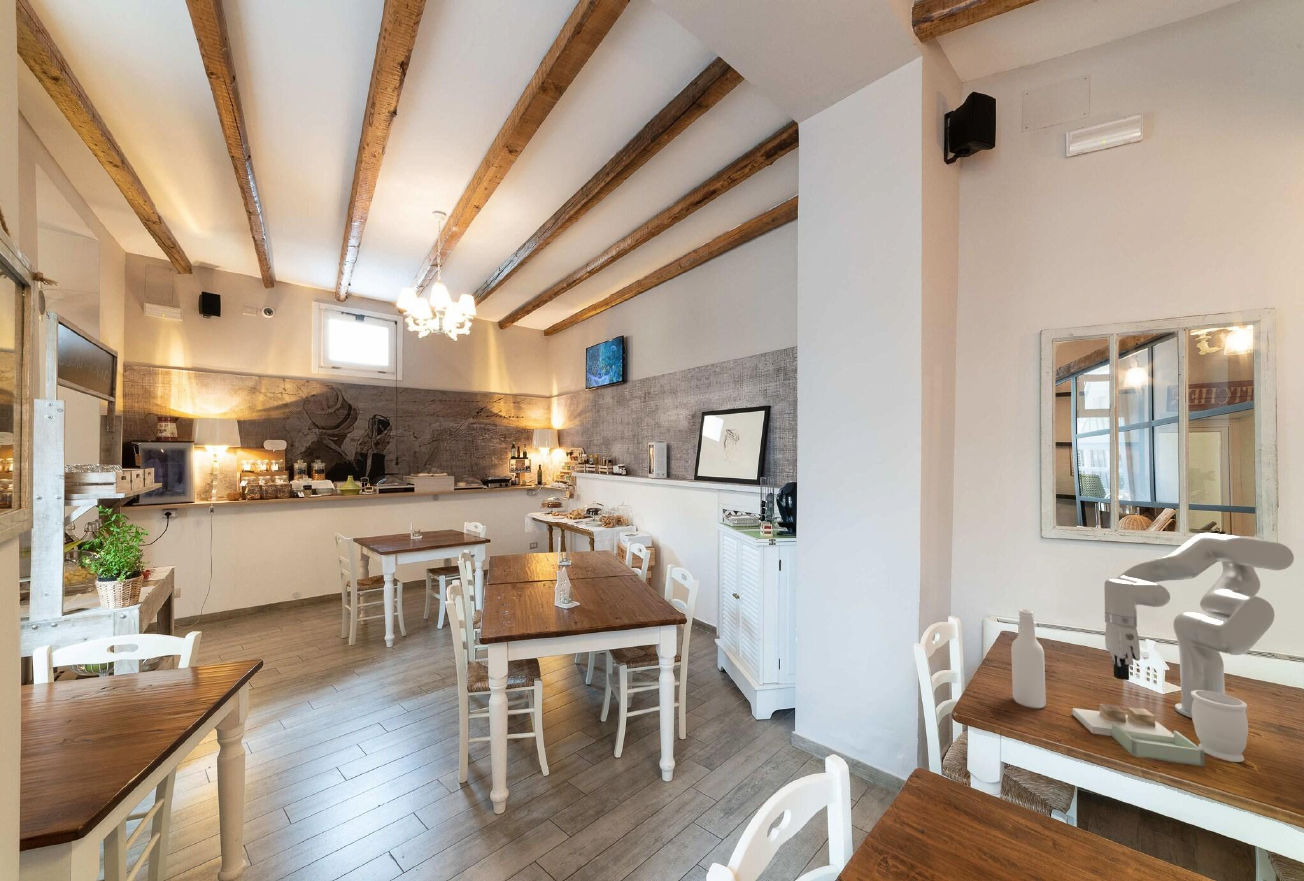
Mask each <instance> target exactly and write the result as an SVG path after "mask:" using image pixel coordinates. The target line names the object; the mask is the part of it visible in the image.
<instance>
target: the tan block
mask: <svg viewBox="0 0 1304 881" xmlns="http://www.w3.org/2000/svg"><path fill="white" fill-rule="evenodd" d="M1098 705H1099V706H1098V707H1099V710H1098V711H1099V712H1100V714H1101V715H1102V716H1103V717H1104V718H1105V719H1106V720H1108V721H1116V722H1123V723H1126V715H1127V714H1126V713H1127V712H1126V711H1124V710H1123V709H1122V708H1121V707H1119V706H1118V705H1114V704H1113V705H1112V704H1105V703H1099V704H1098Z"/></svg>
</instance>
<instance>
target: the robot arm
mask: <svg viewBox="0 0 1304 881" xmlns="http://www.w3.org/2000/svg"><path fill="white" fill-rule="evenodd" d="M1294 560H1295V557H1294V553H1293V551H1292V549H1290V548H1289V547H1288V546H1287V545H1285V544H1284V543H1281V542H1276V541H1268V540H1262V539H1254V538H1249V537H1248V538H1247V537H1244V536H1243V537H1242V536H1238V535H1237V536H1236V535H1231V534H1230V535H1228V534H1222V533H1221V534H1220V533H1215V532H1214V533H1211V532H1204V533H1202V532H1201V533H1199V534H1195V535H1194V536H1193V537H1191V538H1189V539H1188V540H1187V541H1186V542H1185V543H1183V544H1181V545H1180V546H1179V547H1178V548H1176V549H1175V550H1173V551H1172V552H1170V553H1169V554H1167V555H1166V556H1163V557H1158V558H1155V559H1152V560H1151V559H1150V560H1148V561H1145V562H1141V563H1137V564H1136V565H1133V566H1131V567H1129V568H1128V569H1126V570H1125V571H1124V572H1122V573H1121V574H1119V575H1118V576H1117V577H1116V578H1112V579H1111V578H1109V579H1106V580H1105V581H1104V588H1103V589H1104V622H1105V633H1104V635H1105V636H1104V642H1105V644H1104V645H1105V648H1106V650H1107V651H1108V652H1109V654H1110V655H1111V656H1112V663H1113V677H1114V678H1116V679H1117V680H1123V681H1129V680H1130V667H1131V666H1134V661H1137V662H1138V661H1140V660H1141V650H1140V641H1139V640H1140V639H1139V633H1138V629H1137V627H1138V617H1137V614H1138V611H1137V606H1146V607H1150V608H1151V607H1153V608H1159V607H1164V606H1166V605H1167V604H1168V603H1169V602H1170V600H1171V595H1170V592H1169V590H1168V589H1167V588H1166V587H1164V586H1163V585H1161V584H1159V582H1166V581H1168V582H1169V581H1183V580H1185V581H1186V580H1191V579H1195V578H1197V577H1198V576H1199V575H1200V574H1202V573H1204V572H1205V571H1206V570H1208V569H1209V568H1210V567H1212V566H1214V565H1215V564H1216V563H1218V562H1219V563H1220V562H1221V564H1222V565H1221V566H1222V573H1221V575H1220V576H1219V578H1218V579H1217V580H1216V581H1215V582H1214V584H1213V585H1212V586H1211V587H1210V588H1209V589H1208V590H1207V591H1206V592H1205V594H1204V595H1203V596H1202V598H1201V599H1200V602H1199V605H1200V608H1201V610H1202V611H1203V612H1204V613H1206V614H1204V613H1198V612H1192V611H1189V612H1188V611H1186V612H1185V611H1184V612H1182V613H1180V614H1177V615H1176V616H1175V617H1174V620H1173V630H1174V634H1175V638H1176V640H1177V645H1178V653H1179V655H1178V656H1179V675H1180V693H1181V694H1180V696H1181V698H1180V699H1181V702H1178V703H1176V704H1175V705H1174V709H1175V711H1176V712H1178V713H1179V714H1180V715H1183V716H1185V717H1187V718H1189V719H1192V703H1193V700H1194V698H1193V697H1192V696H1191V691H1194V690H1204V691H1211V692H1216V693H1221V694H1225V695H1226V689H1225V688H1226V687H1225V665H1224V661H1223V657H1222V655H1221V653H1222V654H1223V653H1224V654H1225V655H1227V654H1228V655H1230V656H1231V655H1232V656H1241V655H1243V654H1246V653H1247V652H1249V651H1250V650H1251V649H1252V648H1253V647H1254V646H1255V645H1256V643H1257V642H1258V641H1259V640H1260V639H1261V638H1262V637H1263V636H1264V634H1265V633H1266V632H1267V631H1268V630H1269V629H1270V628H1271V627H1272V625H1273V622H1274V620H1275V610H1274V607H1273V606H1272V604H1271V603H1270V602H1268V601H1267V600H1266V599H1264V598H1262V597H1259V596H1257V593H1259V591H1260V589H1261V581H1260V579H1259V577H1258V574H1257V572H1256V570H1255V568H1258V569H1263V570H1264V569H1265V570H1271V571H1283V570H1286V569H1287V568H1290V567H1291V566H1292V564H1293V563H1294ZM1207 614H1208V615H1207ZM1209 615H1210V616H1209ZM1244 712H1245V714H1246V717H1247V716H1248V712H1247V709H1246V710H1244Z"/></svg>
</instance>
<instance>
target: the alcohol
mask: <svg viewBox="0 0 1304 881" xmlns="http://www.w3.org/2000/svg"><path fill="white" fill-rule="evenodd" d="M1018 616H1019V617H1018V618H1019V620H1018V634H1017V637H1016V638H1015V639H1014V640H1013V641H1012V643H1011V647H1010V648H1011V650H1010V653H1011V676H1012V680H1011V682H1012V698H1013V700H1014V701H1015V703H1017V704H1019V705H1021V706H1024V707H1027V708H1031V709H1043V708H1044V707H1045V706H1046V705H1047V702H1046V701H1047V700H1046V699H1047V698H1046V672H1045V671H1046V670H1045V667H1046V666H1045V651H1044V649H1043V646H1042V644H1041V643H1039V641H1038V639H1037V636H1036V628H1035V622H1034V617H1035V616H1034V612H1033V611H1032V610H1028V609H1019V610H1018Z"/></svg>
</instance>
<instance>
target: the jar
mask: <svg viewBox="0 0 1304 881" xmlns="http://www.w3.org/2000/svg"><path fill="white" fill-rule="evenodd" d="M1191 696H1192V697H1193V698H1194V700H1193V703H1192V718H1191V719H1192V723H1193V725H1194V726H1193V727H1194V731H1195V734H1196V737H1197V739H1198V740H1199V742H1200V743H1199V744H1198V747H1199V748H1201V749H1202V750H1204V754H1206V755H1208V756H1210V757H1213V758H1216V759H1220V760H1223V761H1226V762H1232V763H1234V762H1235V763H1241V762H1244V761H1245V757H1244V756H1243V754H1242V753H1243V752H1244V750H1245V749H1246V746H1247V741H1248V735H1249V722H1248V717H1247V716H1246V714H1245V712H1244V710H1246V711H1247V709H1248V705H1247V703H1246V702H1245V701H1243V700H1241V699H1239V698H1236V697H1234V696H1231V695H1228V694H1226V693H1225V694H1221V693H1216V692H1211V691H1204V690H1194V691H1191Z"/></svg>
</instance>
